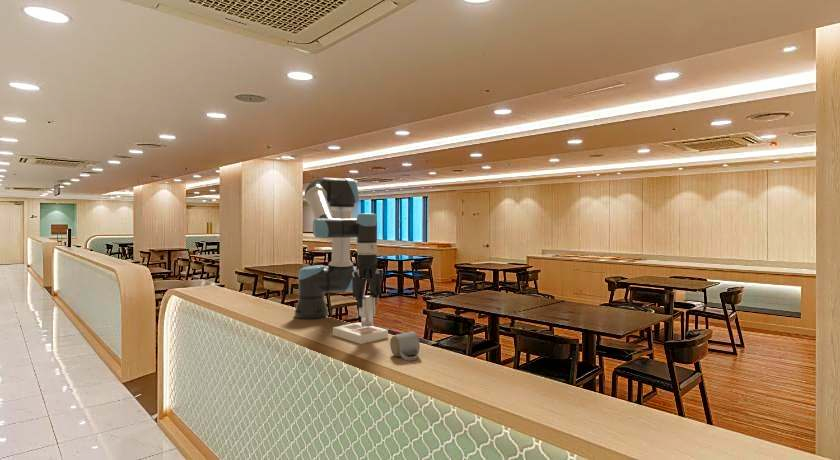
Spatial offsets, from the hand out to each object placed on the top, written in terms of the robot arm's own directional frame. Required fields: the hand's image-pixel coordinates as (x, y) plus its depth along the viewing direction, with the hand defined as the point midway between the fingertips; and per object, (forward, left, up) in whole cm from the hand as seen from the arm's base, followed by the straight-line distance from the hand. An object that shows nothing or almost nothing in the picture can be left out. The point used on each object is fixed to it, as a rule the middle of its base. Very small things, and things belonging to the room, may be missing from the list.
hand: (367, 314), depth 176 cm
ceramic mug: (+22, +16, -9) cm, 29 cm away
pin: (0, 0, -4) cm, 4 cm away
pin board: (-3, -3, -9) cm, 10 cm away
